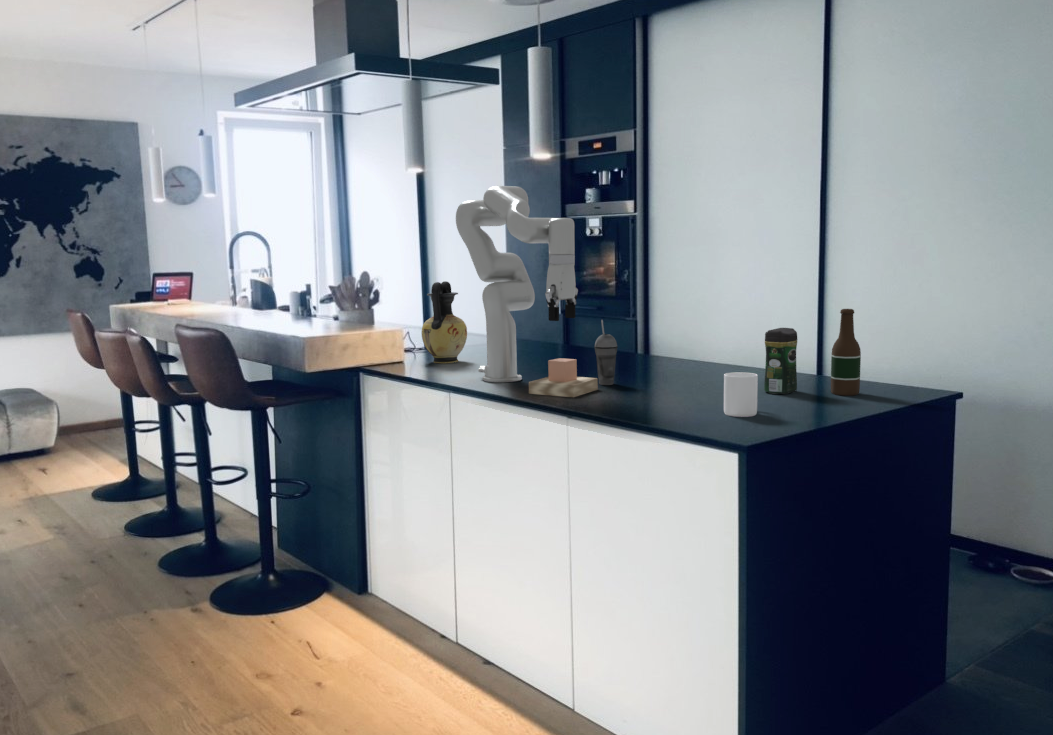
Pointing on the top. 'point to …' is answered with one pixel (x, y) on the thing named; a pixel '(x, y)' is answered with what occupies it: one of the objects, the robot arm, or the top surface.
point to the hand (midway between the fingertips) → (562, 319)
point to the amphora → (443, 326)
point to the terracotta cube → (562, 369)
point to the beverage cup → (606, 357)
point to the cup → (740, 394)
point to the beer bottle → (846, 358)
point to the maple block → (563, 387)
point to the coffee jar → (780, 361)
